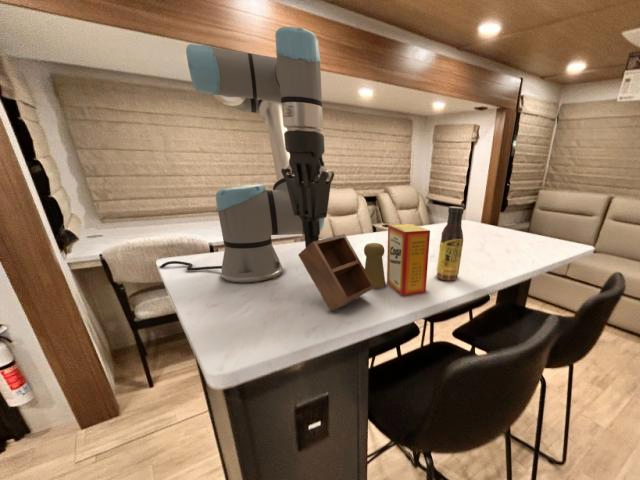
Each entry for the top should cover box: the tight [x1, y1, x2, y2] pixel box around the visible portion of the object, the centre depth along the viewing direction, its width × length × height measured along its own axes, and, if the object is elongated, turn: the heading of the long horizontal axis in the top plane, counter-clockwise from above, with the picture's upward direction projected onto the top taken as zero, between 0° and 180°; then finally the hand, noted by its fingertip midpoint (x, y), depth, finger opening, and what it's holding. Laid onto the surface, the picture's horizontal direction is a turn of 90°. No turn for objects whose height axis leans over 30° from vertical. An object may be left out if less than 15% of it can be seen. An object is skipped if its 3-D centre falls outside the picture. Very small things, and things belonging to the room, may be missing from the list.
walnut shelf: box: [297, 233, 375, 312], centre depth 68 cm, size 14×10×6 cm
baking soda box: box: [386, 223, 431, 297], centre depth 78 cm, size 10×6×16 cm
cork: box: [363, 242, 386, 290], centre depth 80 cm, size 6×6×11 cm
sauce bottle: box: [436, 206, 465, 282], centre depth 85 cm, size 6×6×20 cm
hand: (312, 249), depth 70 cm, fingers closed
